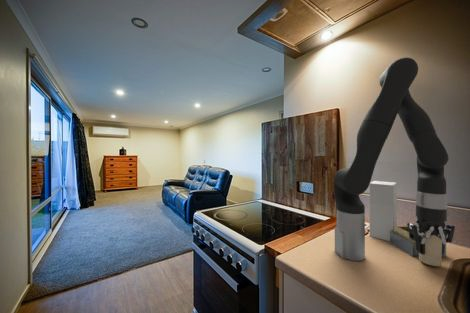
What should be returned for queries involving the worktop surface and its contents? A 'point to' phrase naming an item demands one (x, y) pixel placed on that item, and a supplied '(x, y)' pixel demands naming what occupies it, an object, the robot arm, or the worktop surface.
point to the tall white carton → (382, 209)
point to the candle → (432, 251)
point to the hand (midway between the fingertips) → (430, 253)
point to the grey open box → (405, 241)
